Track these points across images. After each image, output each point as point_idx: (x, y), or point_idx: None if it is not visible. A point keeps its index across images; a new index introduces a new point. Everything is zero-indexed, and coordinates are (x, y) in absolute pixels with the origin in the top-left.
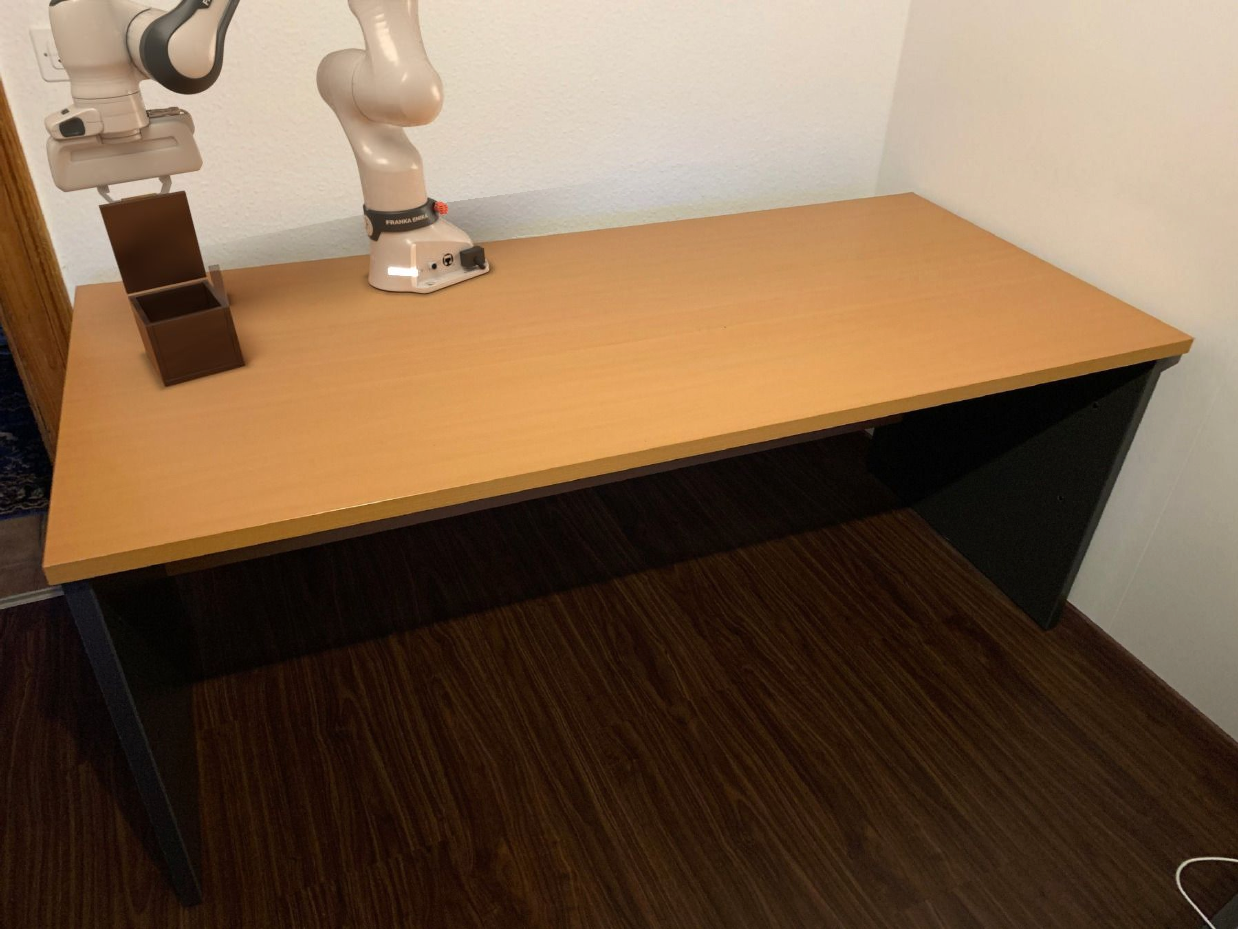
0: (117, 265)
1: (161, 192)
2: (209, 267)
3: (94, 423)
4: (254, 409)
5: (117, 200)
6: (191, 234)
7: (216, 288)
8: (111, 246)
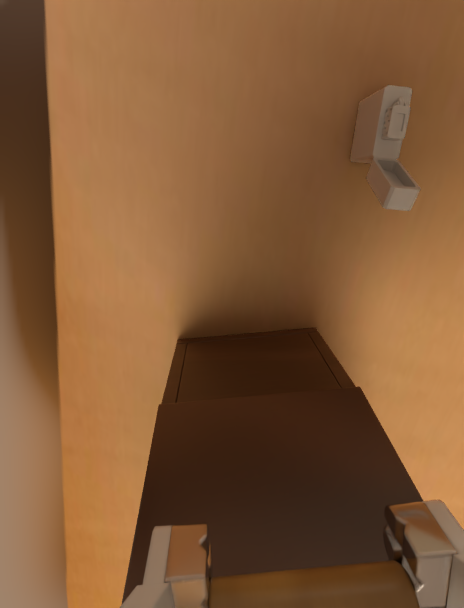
0: (146, 471)
1: (457, 582)
2: (392, 194)
3: (96, 521)
4: None
5: (189, 583)
6: None
7: (370, 159)
8: (134, 540)
